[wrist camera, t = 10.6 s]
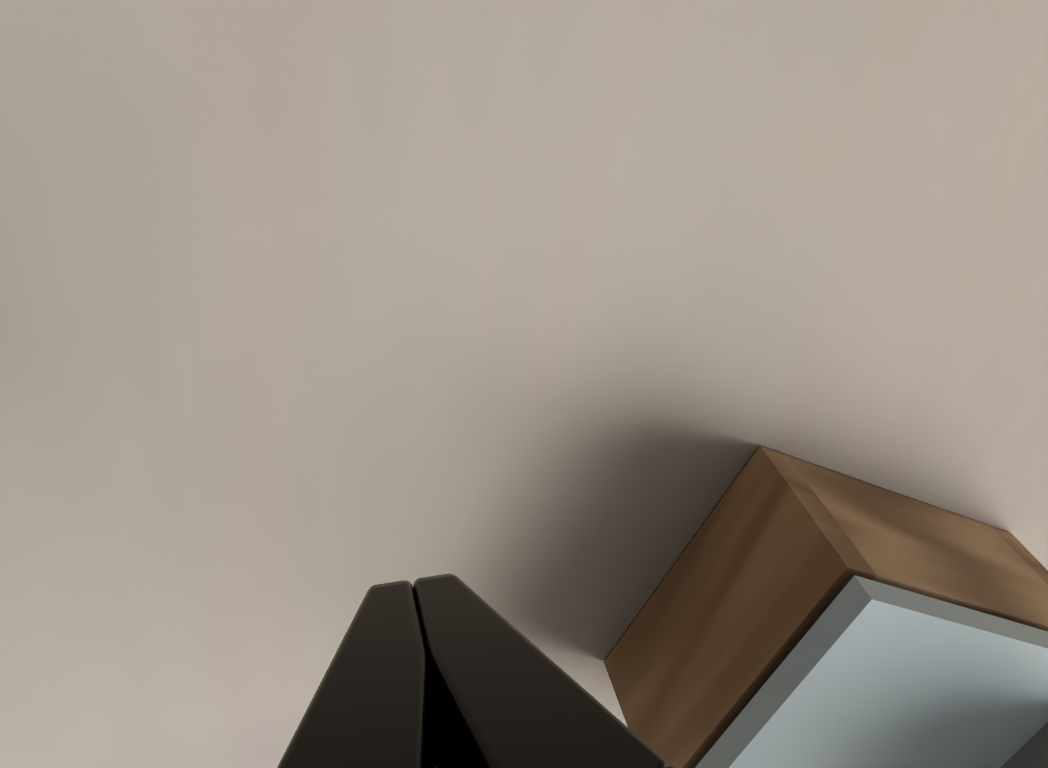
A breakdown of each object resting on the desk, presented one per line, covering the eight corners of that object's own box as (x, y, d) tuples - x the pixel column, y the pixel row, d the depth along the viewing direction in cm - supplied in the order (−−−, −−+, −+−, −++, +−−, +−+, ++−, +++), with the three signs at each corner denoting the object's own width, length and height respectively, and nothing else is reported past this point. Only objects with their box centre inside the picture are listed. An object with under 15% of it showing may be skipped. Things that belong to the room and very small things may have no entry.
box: (603, 662, 30) (655, 800, 26) (760, 445, 27) (847, 566, 23) (850, 713, 35) (926, 837, 31) (1011, 533, 31) (1122, 647, 27)
